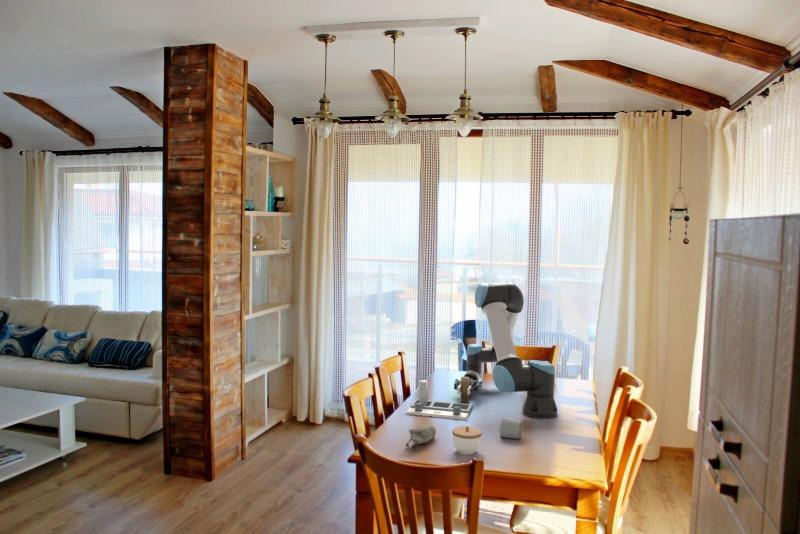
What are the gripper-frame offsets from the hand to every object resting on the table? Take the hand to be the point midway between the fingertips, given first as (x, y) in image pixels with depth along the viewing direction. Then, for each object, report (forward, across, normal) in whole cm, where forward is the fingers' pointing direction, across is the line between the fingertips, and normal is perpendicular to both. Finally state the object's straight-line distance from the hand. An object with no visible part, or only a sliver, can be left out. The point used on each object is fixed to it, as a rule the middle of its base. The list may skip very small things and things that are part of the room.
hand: (463, 391), depth 274 cm
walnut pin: (-5, 0, -7) cm, 9 cm away
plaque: (+17, +8, -7) cm, 20 cm away
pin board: (+8, +8, -7) cm, 13 cm away
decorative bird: (+53, +7, -7) cm, 54 cm away
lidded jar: (+56, -11, -7) cm, 57 cm away
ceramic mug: (+34, -25, -7) cm, 43 cm away
